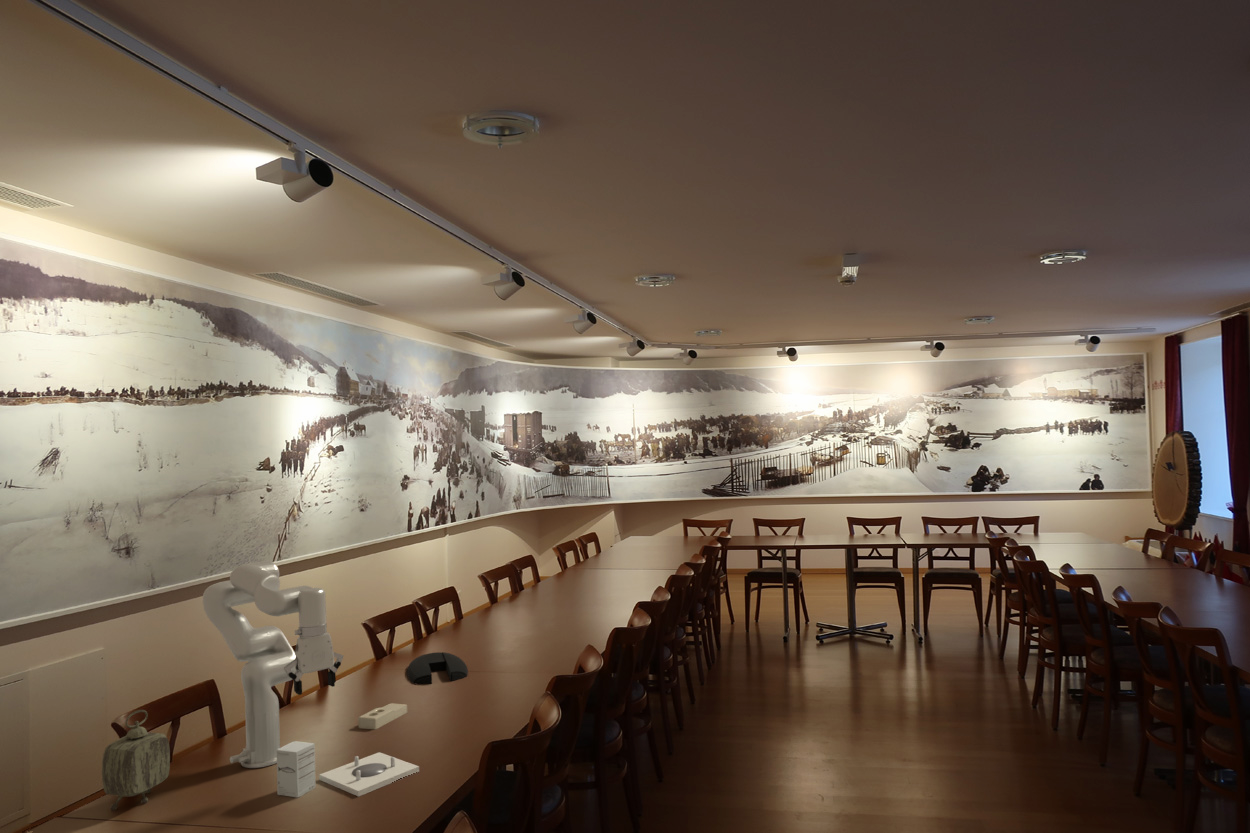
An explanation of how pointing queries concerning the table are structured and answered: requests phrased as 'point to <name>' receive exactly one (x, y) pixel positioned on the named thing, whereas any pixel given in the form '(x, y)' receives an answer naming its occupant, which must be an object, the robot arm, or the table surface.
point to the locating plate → (368, 773)
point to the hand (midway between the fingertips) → (315, 689)
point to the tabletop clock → (135, 762)
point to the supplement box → (295, 769)
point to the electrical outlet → (381, 716)
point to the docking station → (436, 667)
